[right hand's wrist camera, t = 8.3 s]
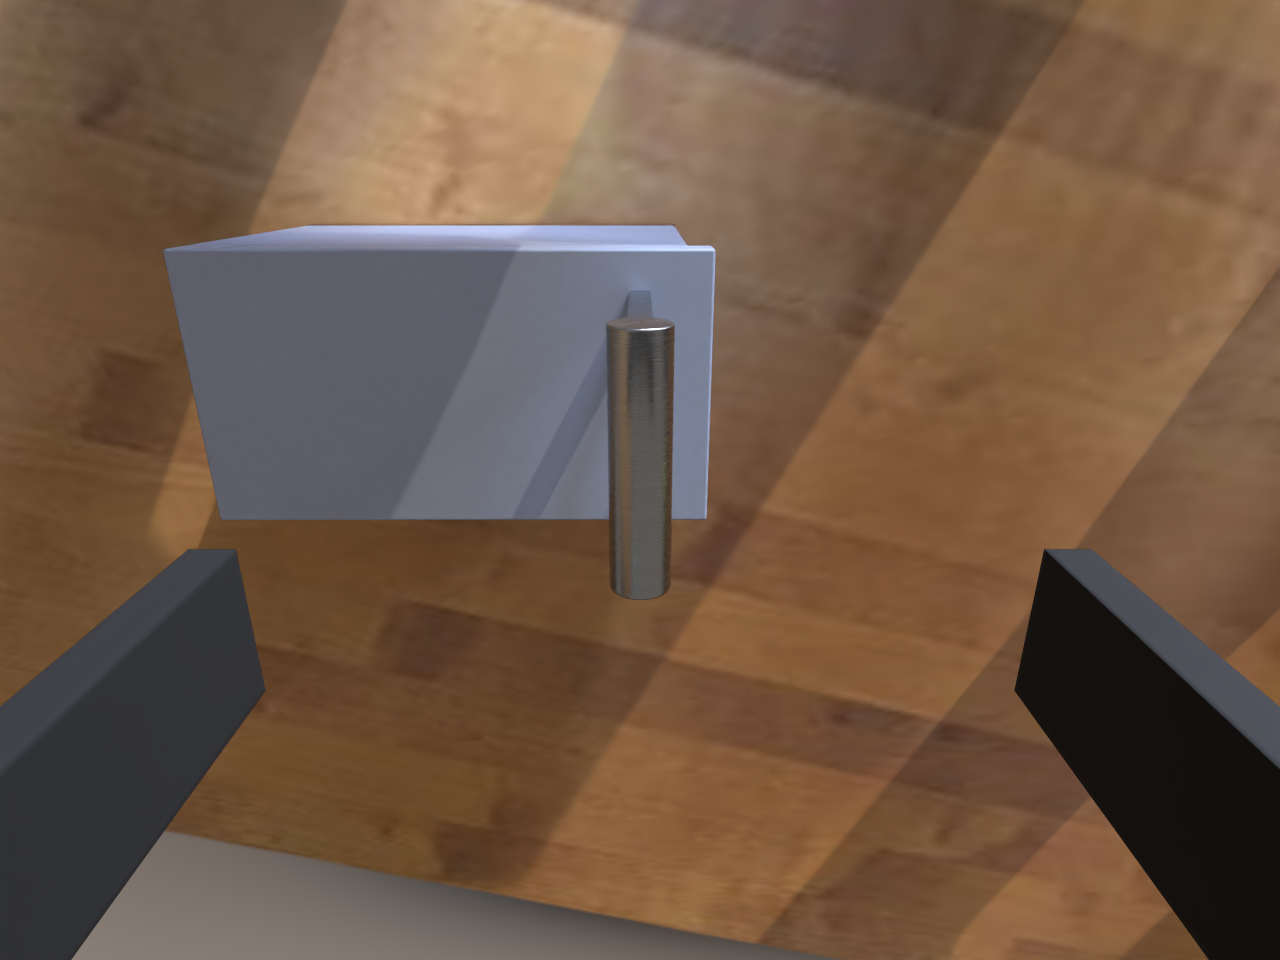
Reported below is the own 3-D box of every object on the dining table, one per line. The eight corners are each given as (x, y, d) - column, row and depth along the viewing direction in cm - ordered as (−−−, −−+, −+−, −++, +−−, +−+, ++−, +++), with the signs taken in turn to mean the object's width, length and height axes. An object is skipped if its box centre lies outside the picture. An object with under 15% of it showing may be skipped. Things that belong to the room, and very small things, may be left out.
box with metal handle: (712, 245, 26) (746, 279, 17) (704, 506, 29) (729, 636, 21) (182, 245, 26) (-30, 279, 17) (236, 507, 29) (79, 637, 21)
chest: (674, 223, 36) (688, 244, 26) (671, 418, 39) (682, 506, 29) (314, 224, 36) (183, 245, 26) (342, 418, 39) (237, 506, 29)
